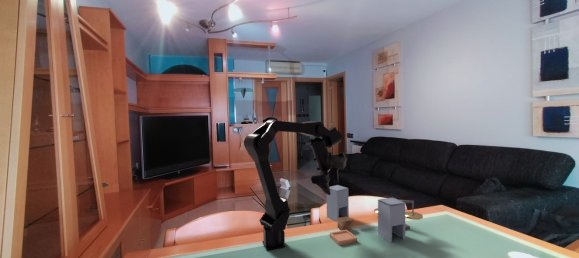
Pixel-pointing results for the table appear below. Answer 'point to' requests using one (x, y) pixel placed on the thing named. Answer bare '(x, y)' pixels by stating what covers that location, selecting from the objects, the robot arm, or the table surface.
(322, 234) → the table surface
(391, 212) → the gray arched-opening tower
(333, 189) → the tall vending chute
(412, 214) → the balance
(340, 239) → the dish
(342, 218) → the block
